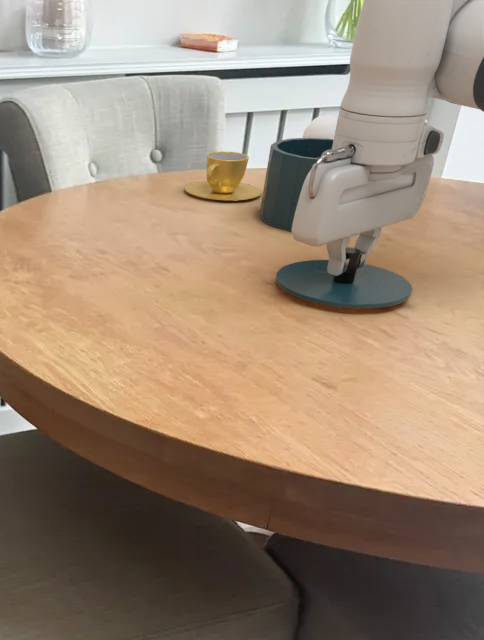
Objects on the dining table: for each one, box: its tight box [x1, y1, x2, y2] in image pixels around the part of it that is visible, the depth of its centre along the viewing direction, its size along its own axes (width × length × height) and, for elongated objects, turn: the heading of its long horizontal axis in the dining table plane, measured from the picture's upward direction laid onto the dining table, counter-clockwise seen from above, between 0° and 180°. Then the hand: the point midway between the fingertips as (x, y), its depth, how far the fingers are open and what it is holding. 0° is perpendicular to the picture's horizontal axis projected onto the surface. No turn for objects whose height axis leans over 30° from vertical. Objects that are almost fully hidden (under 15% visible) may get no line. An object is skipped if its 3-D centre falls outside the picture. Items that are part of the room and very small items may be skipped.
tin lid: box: [275, 246, 413, 309], centre depth 103 cm, size 16×16×5 cm
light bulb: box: [302, 114, 338, 139], centre depth 137 cm, size 7×7×11 cm
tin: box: [259, 137, 334, 233], centre depth 125 cm, size 15×15×10 cm
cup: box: [184, 150, 262, 201], centre depth 137 cm, size 12×12×5 cm
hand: (346, 270), depth 103 cm, fingers closed on tin lid, 2 cm apart
